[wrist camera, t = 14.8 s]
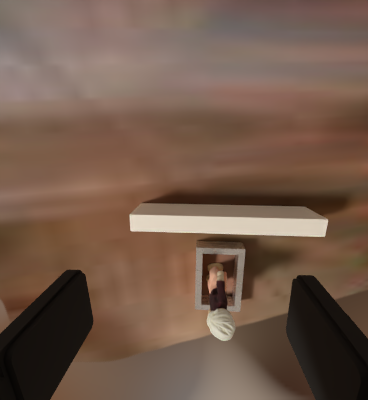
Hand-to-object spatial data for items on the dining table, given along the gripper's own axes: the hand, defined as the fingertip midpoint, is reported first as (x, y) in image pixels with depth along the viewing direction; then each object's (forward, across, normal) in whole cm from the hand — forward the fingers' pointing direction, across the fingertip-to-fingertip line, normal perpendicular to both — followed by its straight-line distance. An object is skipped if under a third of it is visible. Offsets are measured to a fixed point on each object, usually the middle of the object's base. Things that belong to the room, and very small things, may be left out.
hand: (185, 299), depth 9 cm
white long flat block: (+24, -4, +4) cm, 25 cm away
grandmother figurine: (+24, -3, +15) cm, 29 cm away
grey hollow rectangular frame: (+24, -4, +15) cm, 29 cm away
